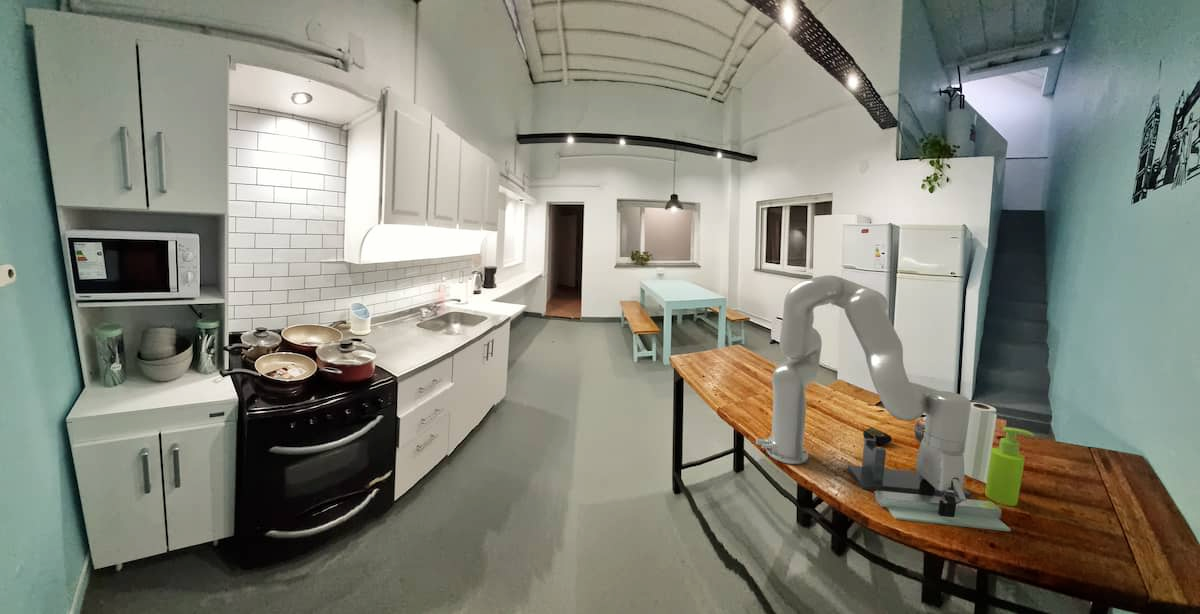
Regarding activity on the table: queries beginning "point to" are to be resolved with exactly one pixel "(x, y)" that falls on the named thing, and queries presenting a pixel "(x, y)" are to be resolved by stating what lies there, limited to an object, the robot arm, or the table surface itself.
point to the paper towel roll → (979, 441)
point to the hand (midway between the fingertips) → (935, 505)
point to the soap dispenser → (1006, 469)
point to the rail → (936, 504)
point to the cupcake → (920, 429)
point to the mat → (948, 519)
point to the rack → (886, 473)
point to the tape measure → (877, 436)
